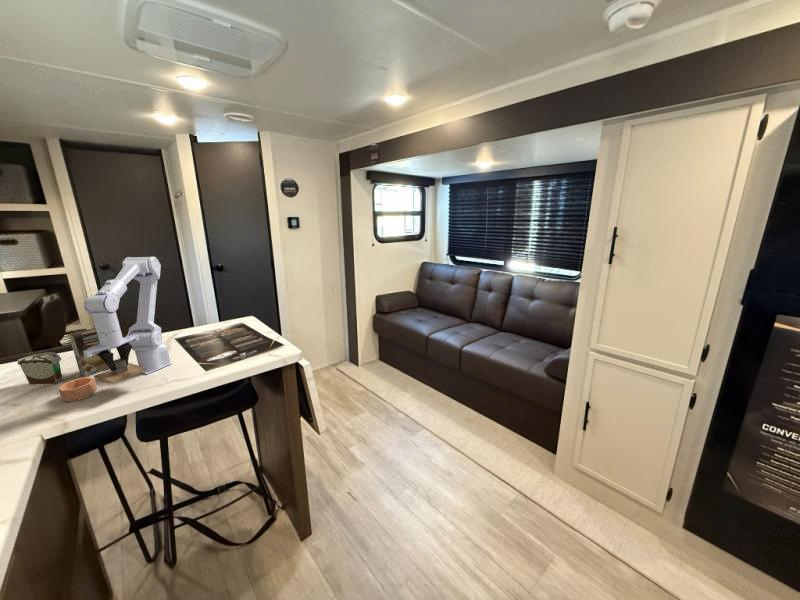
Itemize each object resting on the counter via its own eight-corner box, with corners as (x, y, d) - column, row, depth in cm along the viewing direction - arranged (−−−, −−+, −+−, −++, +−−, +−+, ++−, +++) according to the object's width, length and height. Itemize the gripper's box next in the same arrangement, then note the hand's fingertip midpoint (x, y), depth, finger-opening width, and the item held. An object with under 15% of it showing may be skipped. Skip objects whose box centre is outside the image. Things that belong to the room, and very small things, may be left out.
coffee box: (85, 377, 118) (73, 337, 114) (79, 372, 121) (67, 334, 117) (116, 367, 126) (105, 329, 121) (109, 363, 129) (99, 326, 124)
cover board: (128, 364, 114) (125, 352, 113) (146, 369, 111) (143, 357, 110) (94, 377, 106) (90, 365, 104) (112, 383, 102) (108, 370, 101)
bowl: (89, 386, 112) (85, 375, 111) (102, 391, 109) (98, 380, 108) (58, 399, 105) (54, 387, 103) (71, 404, 102) (66, 392, 100)
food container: (77, 375, 119) (69, 351, 116) (61, 384, 113) (52, 359, 110) (43, 376, 119) (34, 352, 116) (25, 385, 113) (15, 359, 110)
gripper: (126, 321, 112) (135, 356, 115) (73, 336, 99) (85, 375, 103) (139, 324, 109) (148, 359, 113) (86, 340, 96) (98, 379, 100)
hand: (119, 367), depth 108 cm, fingers closed on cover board, 3 cm apart
